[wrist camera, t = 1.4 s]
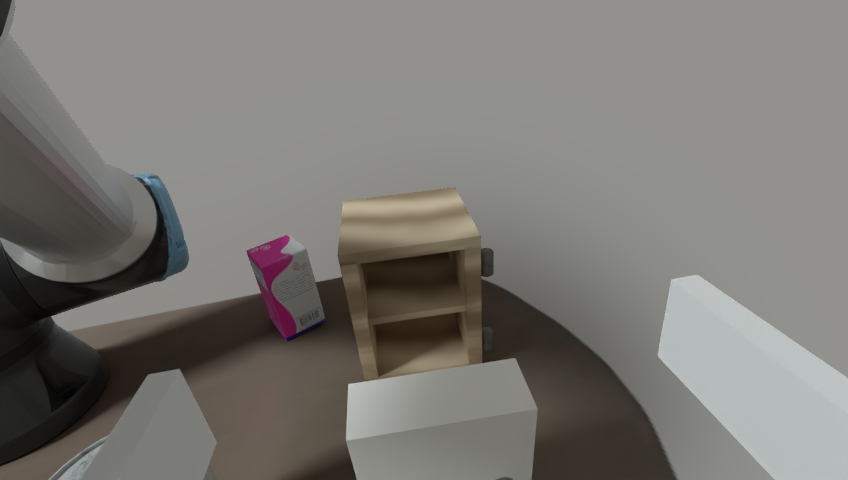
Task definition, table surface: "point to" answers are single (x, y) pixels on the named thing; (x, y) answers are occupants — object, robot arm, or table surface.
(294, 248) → the supplement box
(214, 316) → the table surface
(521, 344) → the table surface
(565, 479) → the table surface
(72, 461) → the grey cylinder
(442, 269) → the cabinet
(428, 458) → the door
